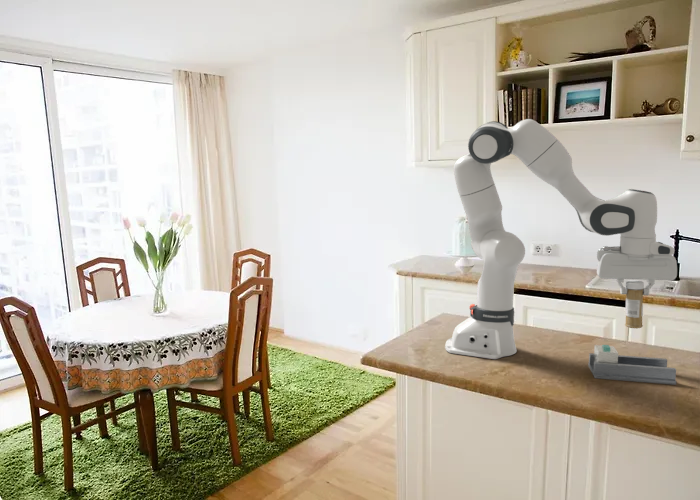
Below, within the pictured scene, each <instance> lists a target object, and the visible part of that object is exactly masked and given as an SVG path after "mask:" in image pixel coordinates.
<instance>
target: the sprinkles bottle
mask: <svg viewBox="0 0 700 500" xmlns="http://www.w3.org/2000/svg"><path fill="white" fill-rule="evenodd" d="M644 285H645V283H644V282H643V281H642V280H638V279H629V280H626V281H625V287H626V288H627V294H625V324H624V326H625V327H626V328H629V329H640V328H643V326H644V325H643V315H644V311H643V310H644V305H643V302H644V297H643V296H644V295H643V288H645V286H644Z"/></svg>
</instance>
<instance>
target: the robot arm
mask: <svg viewBox="0 0 700 500" xmlns="http://www.w3.org/2000/svg"><path fill="white" fill-rule="evenodd" d="M467 145H468V146H467V147H468V153H466V154H465V155H463V156H460V157H459V158H458V159H457V160H456V161H455V163H454V164H453V175H454V181H455V185H456V188H457V189H456V190H457V192H458V194H459V195H458V196H459V198H460V202H461V203H462V206H463V210H464V213H465V215H466V218H467V223H468V229H469V234H470V239H471V244H470V245H471V248H472V250H473V252H474V254H475V255H476V256H477V258H479V259H481V260H482V261H483V265H482V266H483V267H482V271H481V275H480V278H479V279H478V281H477V296H476V299H477V301H476V302H477V303H476V305H475V303H471V304H470V305H469V311H470V313H469V315H470V316H469V317H467V318H466V319H465V320H463V321H462V322H460V323H459V324H457V325H456V326H455V328H454V329H453V332H452V335H451V336H452V337H449V338H448V339H447V340H446V342H445V343H444V344H445V345H444V349H445V350H446V352H448V353H450V354H456V355H463V356H469V357H478V358H484V359H492V360H499V359H500V358H503V357H509V356H512V355H514V354H516V353H517V352H518V351H517V346H516V341H515V335H514V324H515V308H514V292H515V291H514V290H515V280H516V276H517V273H518V270H519V269H518V268H519V267H520V264H521V263H522V262H523V260H524V257H525V255H526V248H525V244H524V243H523V241H522V240H521V239H520V238H519V237H518V236H517V235H516V234H514V233H512V232H509V231H506V229H505V228H504V224H503V217H502V211H503V205H502V202H501V199H500V196H499V192H498V189H497V187H496V183H495V181H494V179H493V176H492V171H491V165H492V164H493V163H496V162H498V161H500V160H502V159H504V158H507V157H508V156H510V155H513V156H514V157H516V158H518V159H519V160H520V161H521V163H523V165H525V167H526V168H528V169H529V170H530V172H532V173H533V174H534V175H535V176H536V177H538V178H539V179H540V180H541V181H544V182H545V183H546V184H548V185H550V186H552V187H553V188H554V189H556V190H557V191H558V192H559V193H560V194H561V195H562V196H563V197H564V199H566V200H567V202H568V203H569V204H570V205H571V206H572V207H573V208H574V209H575V211H576V213H577V216H578V220H579V222H580V224H581V226H582V227H583V228H584V229H585V230H586V231H588V232H591V233H595V234H598V235H600V236H613V235H618V234H620V235H619V236H620V238H619V239H620V242H619V246H607V245H606V246H603V247H601V248H599V249H598V250H597V252H596V253H597V254H596V259H597V261H598V262H597V265H596V266H597V267H596V275H597V276H598V277H599V278H600V279H606V280H607V279H609V280H611V279H613V280H615V279H616V283H617V285H618V286H619V288H620V289H619V291H620V292H619V293H620V294H621V295H626V294H627V288H626V286H624V285H623V283H624V281H625V280H644V281H645V280H646V283H647V284H646V285H645V286H644V288H643V296H649V295H650V290H651V288H652V287H653V286H654V284H655V281H674V280H676V278H678V277H677V276H678V265H677V262H678V261H677V260H676V259H677V258H676V257H675V256H673V255H674V254H675V247H673V246H671V245H668V244H665V243H663V242H660V241H656V239H657V235H656V230H655V228H656V225H657V224H658V223H657V222H658V201H657V197H656V195H655V194H654V193H653V192H650V191H646V190H641V189H640V190H639V189H633V188H631V189H630V188H629V189H626V190H625V191H624V192H623V193H621V194H619V195H617V196H615V197H613V198H610V199H607V200H604V199H601V198H599V197H597V196H596V195H594V194H593V193H591V191H590V190H589V189H588V187H586V186H585V185H584V184H583V183H582V182H581V180H580V179H579V178H578V177H577V176H576V174H575V172H574V169H573V160H572V156H571V154H570V153H569V152H568V150H567V149H566V147H565V145H564V144H563V143H562V142H560V140H559V139H558V138H556V136H555V135H554V134H552V133H551V132H550V131H549V130H548V129H547V128H546V127H544V126H543V125H541V124H540V123H538V122H537V121H536V120H534V119H532V118H526V119H522V120H519V121H518V122H517V123H516V124H515V125H513V126H512V127H509V128H508V127H507V125H505V124H504V123H503V122H499V121H494V120H493V121H489V122H485V123H484V124H481V125H480V126H478V127H477V128H476V130H475V131H473V133H472V134H471V135H470V137H469V140H468V144H467Z"/></svg>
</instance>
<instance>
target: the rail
mask: <svg viewBox="0 0 700 500" xmlns="http://www.w3.org/2000/svg"><path fill="white" fill-rule="evenodd" d="M593 348H594V351H593V353H591V352H590V353H589V355H588V364H587V365H588V366H587V367H588V368H589V370H590V372H591V373H592V376H593V378H594V379H600V380H611V381H612V380H613V381H614V380H615V381H627V382H636V383H650V384H660V385H663V384H664V385H672V386H673V385H675V386H677V380H676V377H677V369H676V367H668V359H667V358H665V357H664V358H663V357H662V358H661V357H648V356H633V355H622V354H621V355H619V352H618V351H617V349H616V347H614V345H609V344H602V345H601V344H600V345H599V344H594V347H593Z"/></svg>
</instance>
